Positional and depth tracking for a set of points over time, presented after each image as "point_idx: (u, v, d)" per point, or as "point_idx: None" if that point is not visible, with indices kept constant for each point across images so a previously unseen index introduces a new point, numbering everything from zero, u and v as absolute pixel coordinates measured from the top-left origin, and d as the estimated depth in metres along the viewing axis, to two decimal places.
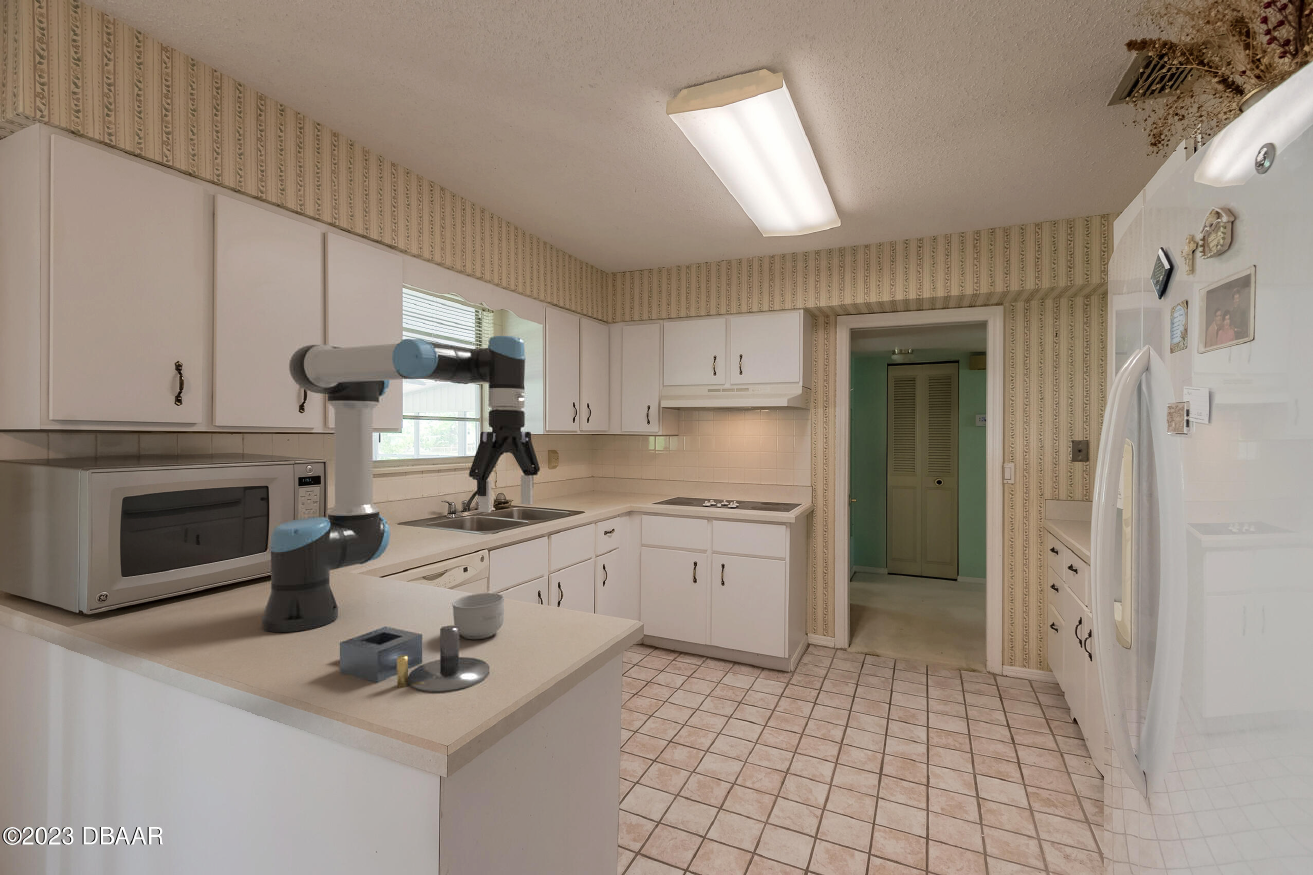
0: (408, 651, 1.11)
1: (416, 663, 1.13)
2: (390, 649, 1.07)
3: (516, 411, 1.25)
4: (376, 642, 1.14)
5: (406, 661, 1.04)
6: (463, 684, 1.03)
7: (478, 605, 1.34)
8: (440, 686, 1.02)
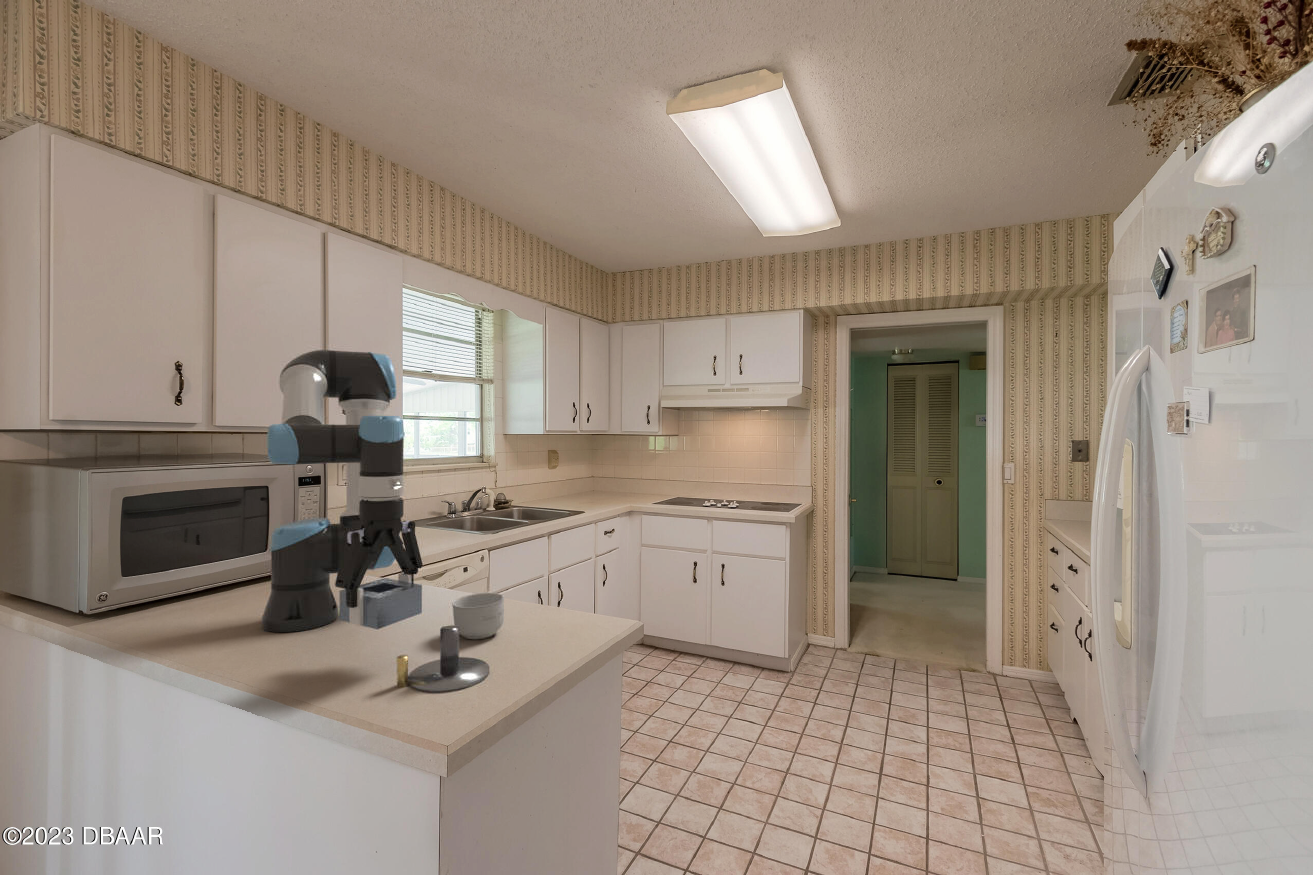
0: (408, 600, 1.11)
1: (416, 613, 1.13)
2: (390, 597, 1.08)
3: (390, 502, 1.09)
4: (376, 592, 1.14)
5: (406, 661, 1.04)
6: (463, 684, 1.03)
7: (478, 605, 1.34)
8: (440, 686, 1.02)
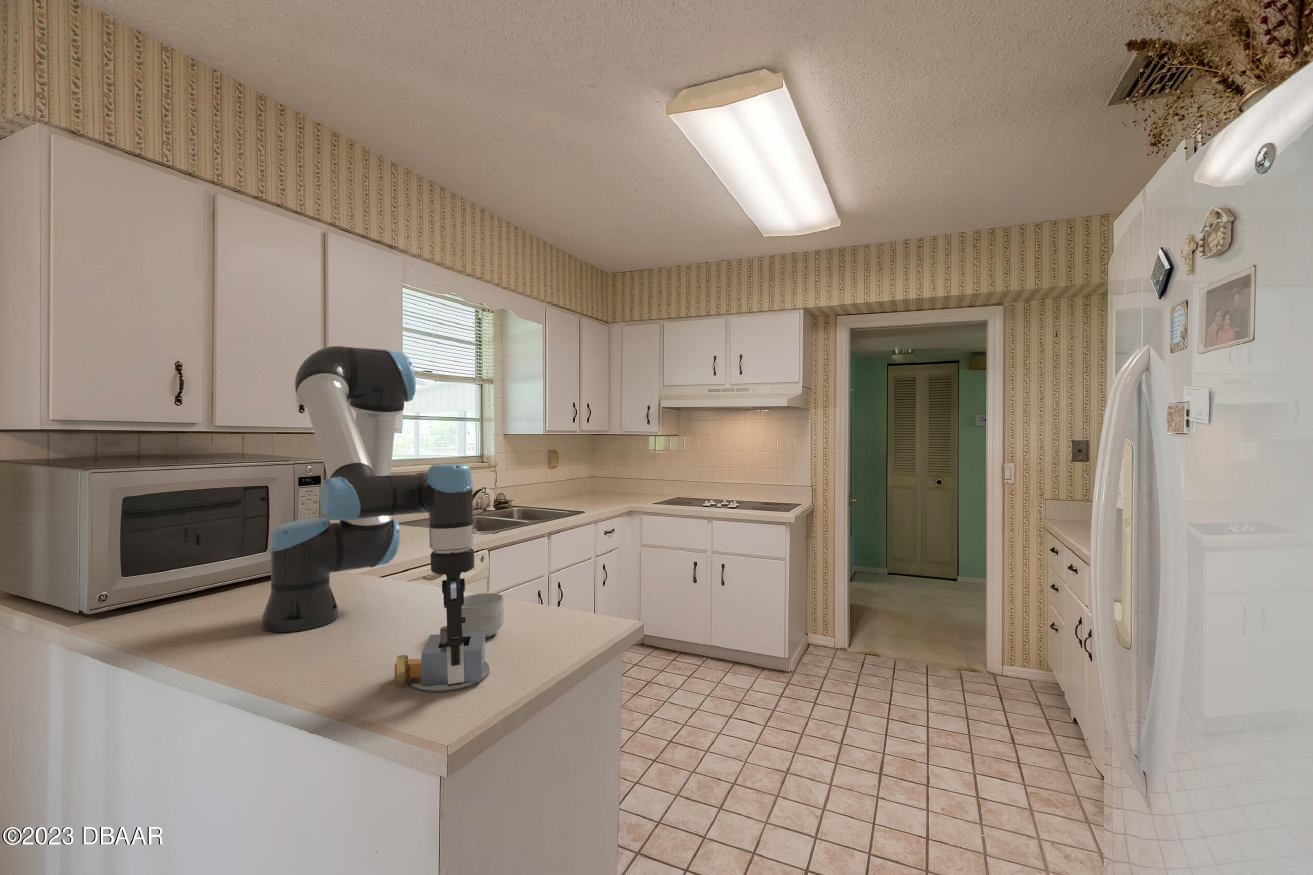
0: None
1: (484, 660, 1.13)
2: None
3: (472, 551, 1.08)
4: None
5: (406, 661, 1.04)
6: (463, 684, 1.03)
7: (478, 605, 1.34)
8: (440, 686, 1.02)
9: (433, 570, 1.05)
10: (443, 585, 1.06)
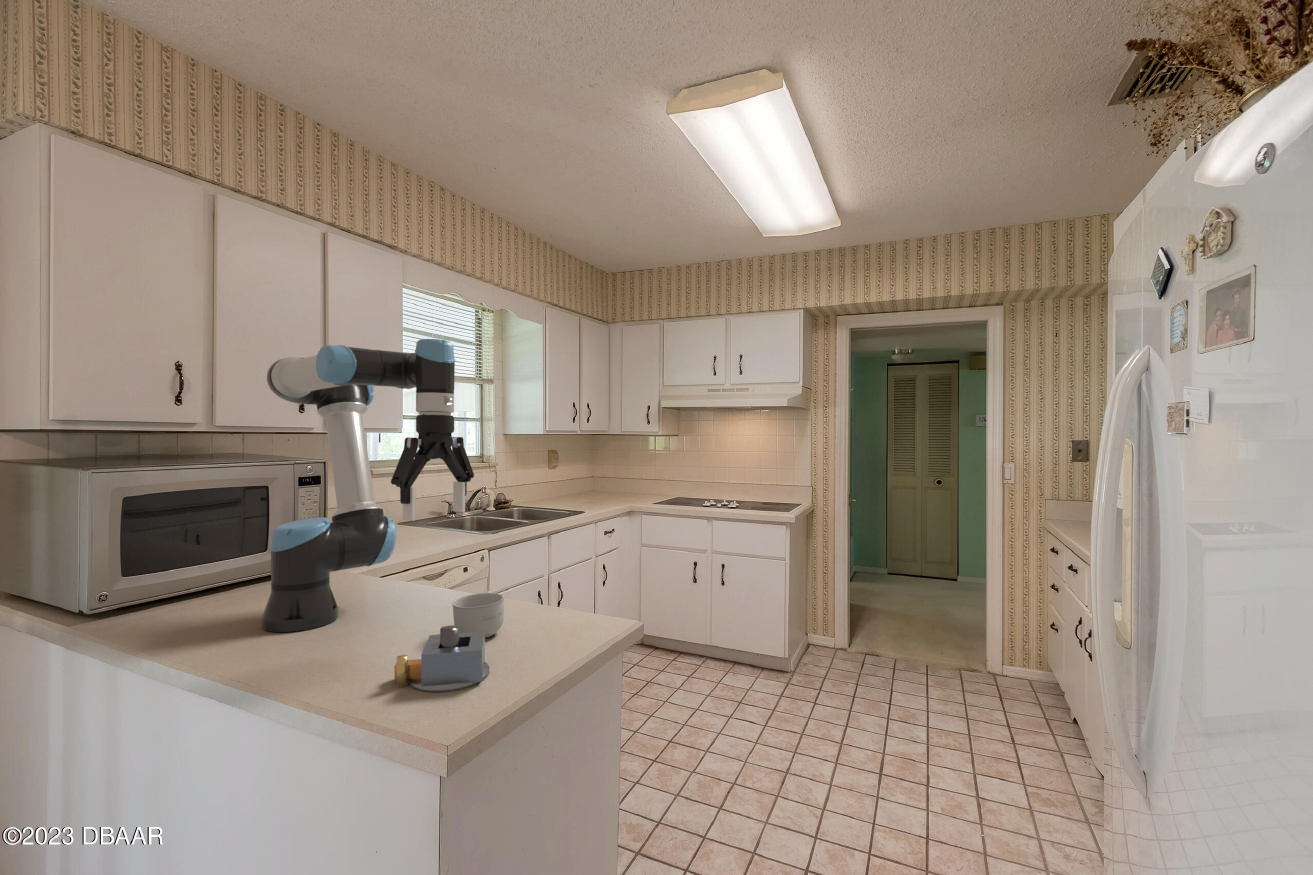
0: None
1: (484, 660, 1.13)
2: None
3: (443, 416, 1.22)
4: None
5: (406, 661, 1.04)
6: (463, 684, 1.03)
7: (478, 605, 1.34)
8: (440, 686, 1.02)
9: None
10: None
